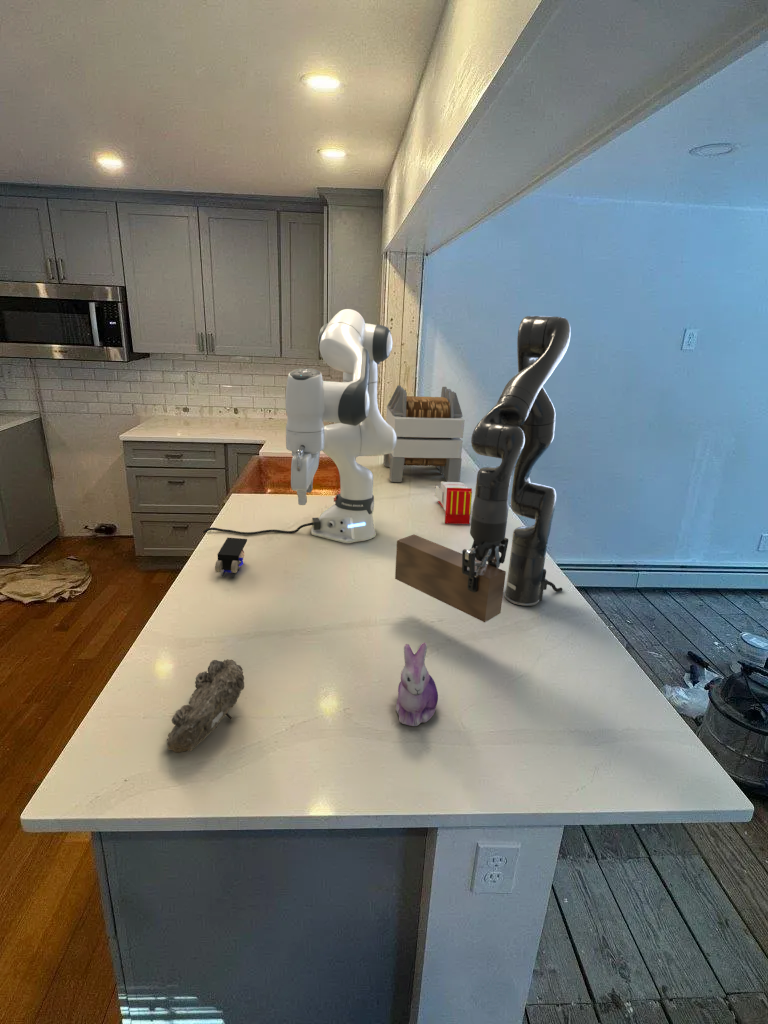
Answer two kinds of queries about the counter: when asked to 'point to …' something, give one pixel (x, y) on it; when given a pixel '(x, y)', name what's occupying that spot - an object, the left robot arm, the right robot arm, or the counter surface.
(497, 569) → the box
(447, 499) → the toy
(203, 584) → the counter surface
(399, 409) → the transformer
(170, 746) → the fossil
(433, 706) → the figurine
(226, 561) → the black wheeled vehicle
